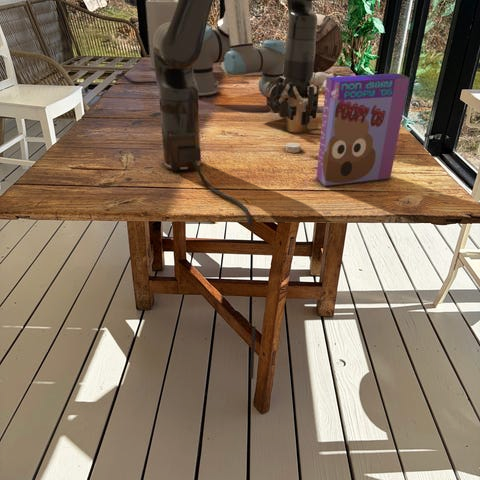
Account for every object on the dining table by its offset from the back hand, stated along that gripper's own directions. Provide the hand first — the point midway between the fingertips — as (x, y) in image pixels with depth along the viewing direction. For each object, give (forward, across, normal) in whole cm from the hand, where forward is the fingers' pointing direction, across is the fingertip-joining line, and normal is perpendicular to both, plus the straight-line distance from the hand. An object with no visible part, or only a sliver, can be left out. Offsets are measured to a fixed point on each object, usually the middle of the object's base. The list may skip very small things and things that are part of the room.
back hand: (303, 114), depth 140 cm
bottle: (-5, 0, -6) cm, 8 cm away
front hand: (+12, +7, +2) cm, 14 cm away
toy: (-49, -25, -6) cm, 56 cm away
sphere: (-79, -33, -6) cm, 86 cm away
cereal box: (+34, -1, -6) cm, 34 cm away
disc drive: (-88, -6, -6) cm, 89 cm away
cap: (+12, +7, -5) cm, 14 cm away
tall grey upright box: (-107, +26, -6) cm, 110 cm away
